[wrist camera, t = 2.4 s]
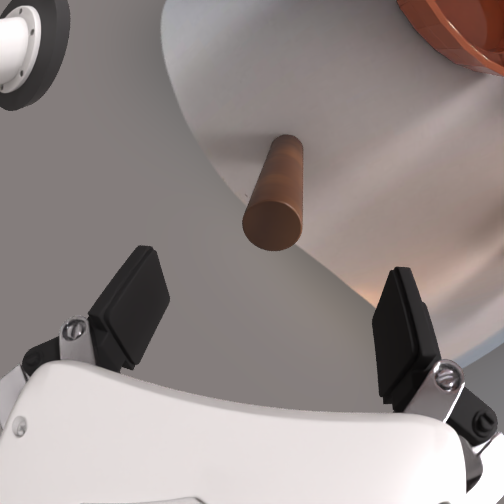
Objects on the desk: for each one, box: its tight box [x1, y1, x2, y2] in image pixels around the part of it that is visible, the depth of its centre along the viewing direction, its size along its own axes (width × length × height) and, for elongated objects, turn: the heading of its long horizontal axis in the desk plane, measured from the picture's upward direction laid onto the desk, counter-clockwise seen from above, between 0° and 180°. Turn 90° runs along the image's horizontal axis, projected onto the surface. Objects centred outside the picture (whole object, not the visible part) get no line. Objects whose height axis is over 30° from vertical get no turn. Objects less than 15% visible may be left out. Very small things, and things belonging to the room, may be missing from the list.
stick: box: [242, 135, 303, 251], centre depth 19 cm, size 3×3×14 cm
